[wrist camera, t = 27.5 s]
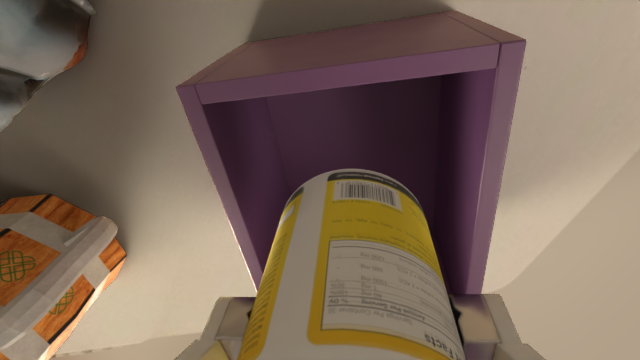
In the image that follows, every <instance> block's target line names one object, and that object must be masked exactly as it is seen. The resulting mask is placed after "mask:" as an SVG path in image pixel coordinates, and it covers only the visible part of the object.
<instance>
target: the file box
mask: <svg viewBox="0 0 640 360" xmlns="http://www.w3.org/2000/svg"><path fill="white" fill-rule="evenodd" d="M525 46H526V40H525V39H523V38H521V37H518V36H516V35H513V34H511V33H509V32H506V31H504V30H501V29H499V28H497V27H494V26H492V25H489V24H487V23H485V22H482V21H480V20H477V19H475V18H473V17H470V16H468V15H465V14H463V13H461V12H458V11H449V12H442V13H436V14H429V15H423V16H416V17H410V18H403V19H397V20H390V21H384V22H377V23H371V24H364V25H358V26H352V27H345V28H339V29H332V30H326V31H319V32H313V33H306V34H300V35H293V36H287V37H280V38H274V39H267V40H261V41H255V42H248V43H244V44H243V45H241V46H239V47H238V48H236V49H234V50H233V51H231V52H230V53H228V54H227V55H225V56H223V57H222V58H220V59H219V60H217V61H216V62H214V63H213V64H211V65H209V66H208V67H206V68H205V69H203V70H202V71H200V72H198V73H197V74H195V75H194V76H192V77H191V78H189V79H188V80H186V81H184V82H183V83H181V84H180V85H178V86H177V87H176V90H177V92H178V95H179V97H180V100H181V102H182V105H183V107H184V110H185V112H186V115H187V117H188V120H189V122H190V125H191V127H192V130H193V132H194V135H195V137H196V140H197V142H198V145H199V147H200V150H201V152H202V155H203V157H204V160H205V162H206V165H207V167H208V170H209V172H210V175H211V177H212V180H213V183H214V185H215V188H216V190H217V193H218V195H219V198H220V200H221V203H222V205H223V208H224V210H225V213H226V215H227V218H228V220H229V223H230V225H231V228H232V230H233V233H234V235H235V238H236V240H237V243H238V245H239V248H240V250H241V253H242V255H243V258H244V260H245V263H246V265H247V268H248V270H249V273H250V275H251V278H252V280H253V283H254V285H255V288H256V290H257V293H258V290H259V286H260V283H261V280H262V276H263V273H264V270H265V267H266V263H267V260H268V257H269V254H270V251H271V248H272V244H273V241H274V238H275V235H276V232H277V228H278V225H279V222H280V218H281V216H282V213H283V210H284V208H285V206H286V204H287V202H288V200H289V198H290V197H291V196H292V194H293V193H294V192H295V191H296V190H297V189H298V188H299V187H300V186H301V185H303V184H304V183H305V182H307V181H308V180H310V179H312V178H313V177H316V176H318V175H320V174H323V173H326V172H329V171H334V170H339V169H364V170H370V171H374V172H378V173H381V174H384V175H386V176H389V177H391V178H393V179H394V180H396V181H398V182H399V183H401V184H402V185H404V186H405V187H406V188H407V189H408V190H409V191H410V192H411V193H412V194H413V195H414V196H415V198H416V199H417V201H418V202H419V204H420V206H421V207H422V210H423V212H424V215H425V218H426V221H427V224H428V228H429V231H430V235H431V239H432V242H433V246H434V249H435V252H436V256H437V259H438V263H439V266H440V270H441V273H442V277H443V281H444V284H445V288H446V291H447V295H448V296H449V295H450V294H481V292H482V286H483V280H484V275H485V269H486V264H487V258H488V253H489V247H490V241H491V236H492V230H493V225H494V219H495V213H496V208H497V202H498V197H499V191H500V186H501V180H502V174H503V169H504V163H505V158H506V152H507V146H508V141H509V135H510V130H511V124H512V119H513V113H514V107H515V102H516V96H517V91H518V85H519V79H520V74H521V68H522V63H523V57H524V52H525Z"/></svg>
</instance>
